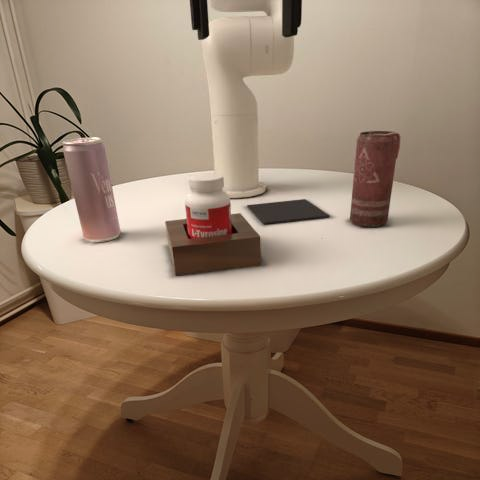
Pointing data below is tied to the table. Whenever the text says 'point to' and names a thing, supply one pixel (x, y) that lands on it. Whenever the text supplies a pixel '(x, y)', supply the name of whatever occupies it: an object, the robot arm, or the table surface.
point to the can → (373, 177)
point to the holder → (213, 248)
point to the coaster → (286, 211)
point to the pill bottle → (207, 206)
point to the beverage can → (92, 188)
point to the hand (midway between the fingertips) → (247, 37)
